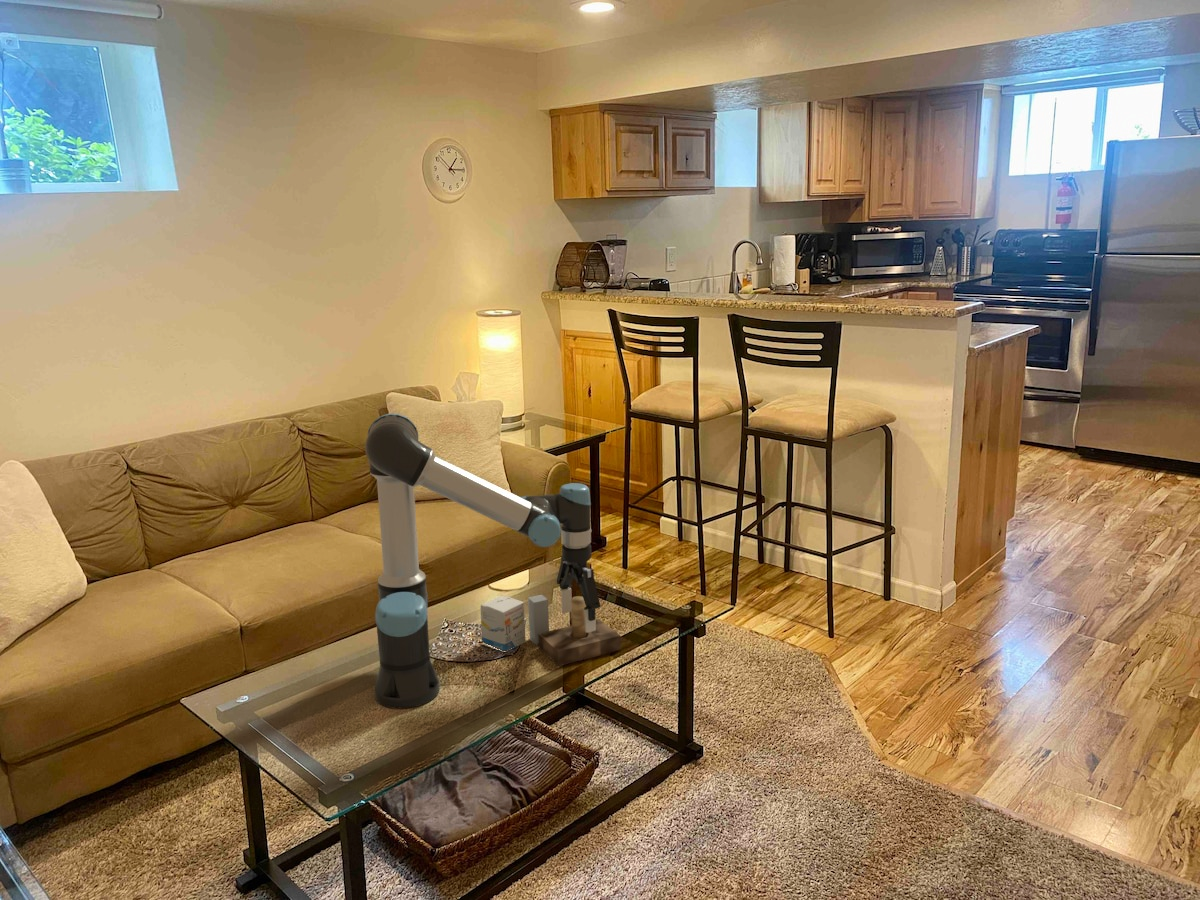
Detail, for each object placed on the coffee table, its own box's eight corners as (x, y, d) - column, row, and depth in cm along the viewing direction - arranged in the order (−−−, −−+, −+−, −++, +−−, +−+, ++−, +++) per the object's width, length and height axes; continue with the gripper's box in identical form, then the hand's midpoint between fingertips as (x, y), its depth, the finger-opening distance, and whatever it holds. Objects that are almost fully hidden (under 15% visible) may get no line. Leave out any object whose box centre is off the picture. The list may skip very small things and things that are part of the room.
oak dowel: (576, 652, 230) (575, 602, 227) (570, 647, 233) (568, 597, 230) (588, 649, 232) (587, 599, 228) (582, 644, 235) (581, 595, 232)
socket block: (558, 666, 223) (557, 651, 222) (538, 647, 234) (538, 633, 233) (620, 649, 231) (620, 635, 230) (599, 632, 242) (598, 618, 241)
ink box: (504, 653, 231) (502, 612, 228) (481, 645, 236) (479, 604, 233) (526, 641, 237) (525, 601, 235) (503, 634, 242) (501, 593, 240)
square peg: (535, 644, 235) (534, 602, 233) (529, 639, 239) (527, 597, 236) (549, 641, 237) (547, 599, 234) (543, 635, 241) (541, 594, 238)
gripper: (613, 556, 217) (614, 636, 222) (568, 528, 238) (570, 601, 243) (585, 561, 213) (587, 642, 218) (542, 532, 235) (545, 607, 240)
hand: (578, 621), depth 231 cm, fingers open, 13 cm apart
